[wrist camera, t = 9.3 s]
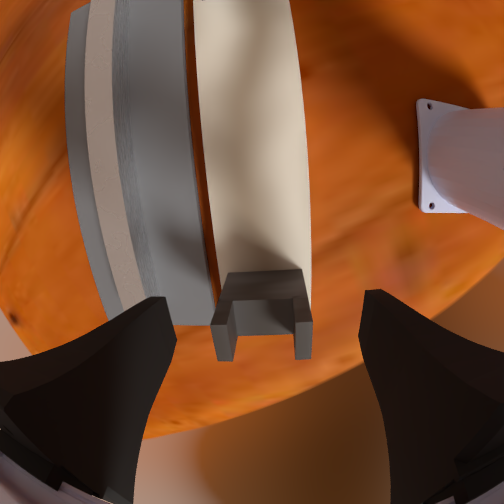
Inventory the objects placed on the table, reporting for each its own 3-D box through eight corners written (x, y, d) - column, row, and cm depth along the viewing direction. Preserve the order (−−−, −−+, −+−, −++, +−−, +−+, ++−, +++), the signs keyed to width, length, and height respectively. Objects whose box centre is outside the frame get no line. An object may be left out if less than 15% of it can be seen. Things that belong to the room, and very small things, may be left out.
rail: (130, -5, 11) (117, -16, 9) (164, 308, 20) (154, 325, 18) (106, 6, 12) (91, -4, 10) (140, 308, 20) (128, 323, 18)
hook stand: (279, -38, 10) (279, -95, 4) (308, 312, 20) (320, 380, 14) (196, -28, 11) (167, -79, 5) (229, 315, 21) (212, 382, 14)
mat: (183, -29, 11) (181, -32, 10) (217, 320, 21) (216, 325, 20) (75, 14, 12) (71, 12, 11) (111, 317, 22) (109, 321, 21)
